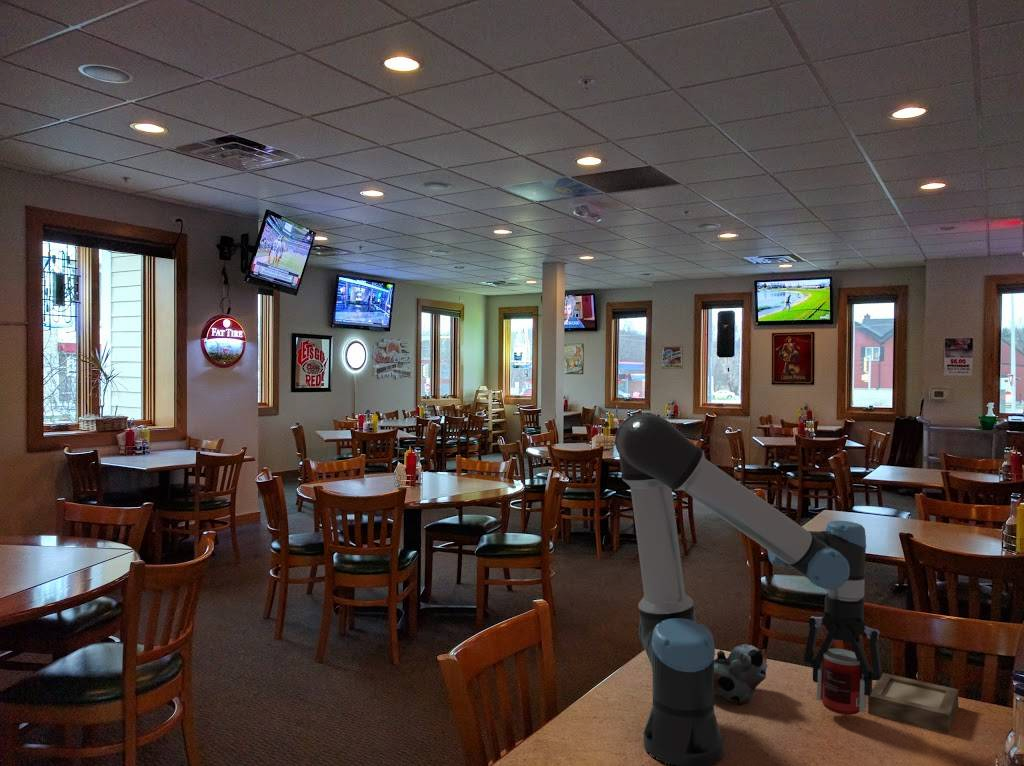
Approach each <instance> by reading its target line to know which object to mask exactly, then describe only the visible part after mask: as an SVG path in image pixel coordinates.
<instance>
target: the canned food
mask: <svg viewBox="0 0 1024 766" xmlns="http://www.w3.org/2000/svg"><path fill="white" fill-rule="evenodd" d="M822 666H823V671H822V700H821V701H822V705H823V706H824V708H826V709H827V710H829V711H830V712H833V713H836V714H839V715H848V716H849V715H850V716H851V715H857V714H858V713H860V711H859V703H860V679H861V678H862V677H863V674H862V671H861V668H860V661H857V658H856V655H855V653H854V651H852V650H848V649H844V648H829V650H828V651H827V652H826V653H824V654H823V661H822Z"/></svg>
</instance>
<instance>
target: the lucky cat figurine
mask: <svg viewBox="0 0 1024 766" xmlns="http://www.w3.org/2000/svg"><path fill="white" fill-rule="evenodd" d="M716 655H717V657H716V658H714V692H717V694H718V695H719V696H721V697H723V699H724V698H725V699H726V700H728V701H730V702H734V701H735V703H736V705H738V706H739V705H740V706H742V705H744V704H747V703H749V702H751V701H752V700H753V699H754V698H755V695H756V688H757V687H758V686H759V685H760V684H761V683H762V682H763V681H764V680H765V679H766V678H767V674H766V673H767V669H768V667H769V666H768V660H767V649H762V650H761V649H758V647H756V646H754V645H751V644H745V643H744V644H740V645H739V646H735V647H734V648H733V649H731V651H730V653H729V655H728V657H726V654H725V651H723V650H722V649H720V650H719V651H717V653H716Z"/></svg>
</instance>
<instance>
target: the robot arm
mask: <svg viewBox="0 0 1024 766" xmlns="http://www.w3.org/2000/svg"><path fill="white" fill-rule="evenodd" d="M614 444H615V445H614V446H615V449H616V452H617V453H618V457H619V464H620V472H621V473H620V474H621V479H622V481H623V482H625V483H626V484H627V485H628V486H629V487H630V495H631V501H632V509H633V518H634V525H635V533H636V534H635V535H636V542H637V548H638V557H639V565H640V573H641V579H642V587H643V588H642V589H643V597H642V599H641V600H640V601H639V602H638V614H639V624H638V625H639V629H638V635H639V640H640V643H641V645H642V647H643V649H644V651H645V653H646V656H647V657H648V660H649V663H650V665H651V670H652V671H651V672H652V706H651V710H650V712H649V715H648V719H647V722H646V724H645V727H644V730H643V748H644V747H645V748H644V750H645V749H646V750H647V751H648V752H649V753H650V754H651V755H652V756H654V757H656V758H657V759H659V760H661V761H663V762H666V763H669V764H671V765H670V766H672V765H676V766H708V765H710V766H712V765H711V764H713V765H715V764H716V763H715V762H717V761H718V762H719V761H721V760H722V758H723V756H724V740H723V739H724V738H723V735H722V733H721V729H720V726H719V723H718V720H717V716H716V713H715V690H714V660H715V655H716V647H715V642H714V637H713V633H712V632H711V631H710V629H709V628H708V627H707V626H705V625H704V624H702V623H697V621H696V612H695V605H694V599H692V598H691V597H690V596H689V595H687V594H686V592H685V591H686V590H685V582H684V575H683V567H682V560H681V558H682V557H681V552H680V551H681V550H680V543H679V536H678V535H679V534H678V527H677V526H678V525H677V519H676V511H675V504H674V496H673V491H674V492H677V491H683V492H685V493H686V494H688V495H689V496H690V497H692V498H693V499H694V500H696V501H697V502H699V503H701V504H702V505H703V506H704V507H706V508H707V509H709V510H710V511H711V512H713V513H715V514H716V515H717V516H719V517H720V518H721V519H723V520H724V521H726V522H727V523H729V524H730V525H732V526H733V527H734V528H736V529H737V530H739V531H740V532H741V533H743V534H745V536H747V537H748V538H749V539H751V540H753V541H755V542H756V543H757V544H759V545H760V546H762V547H763V548H765V549H766V550H767V555H768V556H767V557H768V560H769V561H770V563H771V564H772V565H773V566H775V567H783V568H792V569H793V570H795V572H798V573H799V574H801V575H802V576H804V577H805V578H806V579H807V580H809V581H810V582H811V583H812V584H813V585H815V586H817V587H819V588H821V589H824V591H825V592H824V593H826V594H825V596H824V614H823V616H816V615H812V616H810V618H808V626H809V631H808V637H807V643H806V647H805V651H804V657H803V661H804V663H805V664H808V665H809V664H810V665H811V667H812V681H813V682H814V683H817V684H816V685H817V687H816V689H817V692H816V700H817V701H822V671H823V665H822V664H823V654H824V653H826V652H827V651H828V650H829V649H831V646H832V644H833V642H834V640H836V641H844V642H846V643H848V644H850V647H851V648H852V649H853V652H854V653H855V655H856V658H857V661H860V668H861V671H862V678H861V679H860V703H859V713H860V712H861V713H864V712H865V710H866V709H867V697H868V696H870V695H871V693H872V689H873V681H878V680H880V678H881V677H882V675H883V673H884V672H883V667H882V666H883V665H882V661H881V660H882V659H881V653H880V646H879V645H880V644H879V638H880V634H881V631H880V629H879V628H872V627H869V626H867V625H866V623H865V621H864V619H865V617H864V616H865V615H864V614H865V612H864V611H865V610H864V609H865V601H864V599H863V598H864V597H865V581H866V580H865V579H866V578H865V575H866V574H865V570H866V569H865V567H866V553H867V552H866V550H867V539H866V538H867V536H866V529H865V527H864V526H863V525H862V524H860V523H857V522H853V521H848V520H831V521H828V523H827V524H826V528H825V530H821V531H818V530H817V531H816V530H815V531H813V530H807V529H806V528H804V527H803V526H801V525H800V524H799V523H797V522H796V521H795V520H793V519H791V518H790V517H789V516H787V515H786V514H785V513H783V512H781V510H779V509H778V508H776V507H774V506H773V505H772V504H771V503H768V502H767V501H766V500H764V499H763V498H762V497H760V496H758V495H757V494H756V493H755V492H754V491H751V490H750V489H749V488H748V487H746V486H744V485H743V484H742V483H741V482H739V481H738V480H736V479H735V478H734V477H732V476H730V475H729V474H728V473H726V472H725V471H724V470H722V469H721V468H719V467H718V466H716V465H715V464H713V463H712V462H711V461H709V460H708V459H707V458H706V456H705V451H704V450H703V449H701V448H700V447H698V446H697V445H696V444H695V443H693V442H692V441H691V440H689V438H687V437H686V436H685V435H684V434H683V433H682V432H681V431H680V430H678V428H676V426H675V425H673V424H672V423H671V422H670V421H669V420H667V419H665V418H663V417H661V416H658V415H657V414H654V413H651V412H638V413H634V414H632V415H630V416H628V417H627V418H625V419H624V420H623V421H622V422H621V423H620V424H619V426H618V428H617V430H616V432H615V437H614ZM822 624H823V626H824V628H825V629H826V631H827V632H828V633H827V635H826V636H825V638H824V641H823V643H822V645H821V646H820V648H819V651H818V653H817V654H816V656H815V657H814V654H815V649H816V644H817V638H818V632H819V629H820V627H821V626H822ZM863 633H865V634H866V638H867V639H869V640H868V641H869V645H868V646H869V650H870V651H869V652H870V653H869V654H870V659H871V666H870V664H869V663H870V662H869V661H868V658H867V655H866V652H865V649H864V648H863V645H862V640H861V638H860V636H861V635H862V634H863ZM871 667H872V669H871ZM646 750H645V751H646ZM647 751H646V752H647ZM651 755H650V756H651ZM652 756H651V757H652ZM657 759H656V760H657ZM659 760H658V761H659ZM661 761H660V762H661ZM663 762H662V763H663ZM718 762H717V763H718ZM666 763H665V764H666ZM714 763H715V764H714ZM669 764H668V765H669Z"/></svg>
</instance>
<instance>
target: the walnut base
mask: <svg viewBox="0 0 1024 766" xmlns="http://www.w3.org/2000/svg"><path fill="white" fill-rule="evenodd" d="M882 673H883V675H882V677H881V678H880V680H876V683H874V686H872V693H871V695H870V696H867V697H868V698H867V713H868V714H870V715H873V716H878V717H882V718H885V719H889V720H893V721H896V722H897V721H898V722H901V723H905V724H909V725H913V726H917V727H919V728H926V729H928V728H930V729H929V730H932V729H933V731H936V730H938V731H937V732H940V731H941V732H940V733H944V732H945V734H948V733H949V732H951V730H950V729H952V727H953V724H954V721H955V718H954V717H956V715H955V714H957V712H958V709H959V689H958V688H954V687H948V686H944V685H940V684H934V683H931V682H926V681H922V680H918V679H912V678H908V677H904V676H899V675H894V674H890V673H885V672H882ZM957 708H958V709H957ZM956 711H957V712H956ZM953 720H954V721H953ZM952 723H953V724H952ZM951 726H952V727H951ZM949 734H950V733H949Z"/></svg>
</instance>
